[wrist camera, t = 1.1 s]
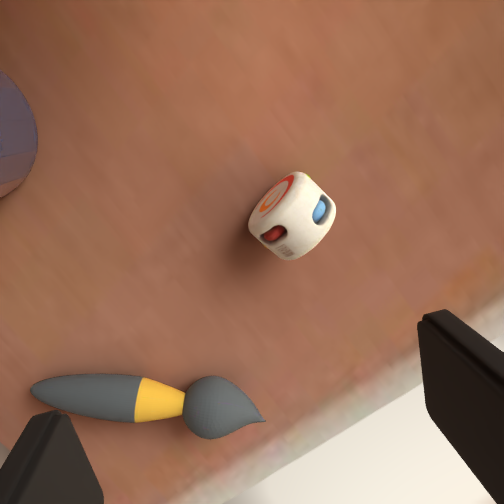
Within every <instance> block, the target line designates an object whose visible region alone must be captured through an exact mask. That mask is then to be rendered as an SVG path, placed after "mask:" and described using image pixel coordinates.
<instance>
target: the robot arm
mask: <svg viewBox="0 0 504 504" xmlns="http://www.w3.org/2000/svg"><path fill="white" fill-rule="evenodd" d="M417 330H418V339H419V348H420V357H421V366H422V376H423V385H424V393H425V403H426V408H427V411H428V413H429V415H430V417H431V419H432V420H433V421H434V423H435V424H436V425H437V427H438V428H439V429H440V430H441V432H442V433H443V434H444V436H445V437H446V438H447V440H448V441H449V442H450V443H451V445H452V446H453V447H454V449H455V450H456V451H457V452H458V454H459V455H460V456H461V458H462V459H463V460H464V461H465V463H466V464H467V466H468V467H469V468H470V469H471V471H472V472H473V473H474V475H475V476H476V477H477V479H478V480H479V481H480V482H481V484H482V485H483V486H484V488H485V489H486V490H487V492H488V493H489V494H490V495H491V497H492V498H493V499H494V501H495V502H496V503H497V504H504V352H502V351H501V350H499V349H498V348H497V347H496V346H494V345H493V344H492V343H490V342H489V341H488V340H486V339H485V338H484V337H482V336H481V335H480V334H478V333H477V332H476V331H475V330H473V329H472V328H471V327H469V326H468V325H467V324H465V323H464V322H463V321H461V320H460V319H459V318H457V317H456V316H455V315H454V314H452V313H451V312H450V311H448V310H446V309H444V310H440V311H436V312H432V313H428V314H424V315H423V318H422V321H420V322H418V324H417ZM0 504H104V496H103V492H102V489H101V487H100V485H99V482H98V480H97V478H96V476H95V473H94V471H93V469H92V467H91V464H90V462H89V460H88V458H87V456H86V453H85V451H84V449H83V447H82V444H81V442H80V440H79V438H78V435H77V433H76V431H75V429H74V427H73V424H72V422H71V420H70V418H69V416H68V415H67V414H62V413H61V412H60V411H59V410H53V411H50V412H46V413H42V414H38V415H35V416H33V417H32V418H31V419H30V420H29V422H28V424H27V425H26V427H25V429H24V430H23V432H22V434H21V435H20V437H19V439H18V440H17V442H16V444H15V445H14V447H13V449H12V450H11V452H10V454H9V455H8V457H7V459H6V460H5V462H4V464H3V466H2V467H1V469H0Z"/></svg>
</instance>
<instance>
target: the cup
mask: <svg viewBox="0 0 504 504" xmlns="http://www.w3.org/2000/svg"><path fill="white" fill-rule="evenodd" d="M37 145H38V138H37V128H36V123H35V120H34V116H33V113H32V111H31V109H30V106H29V104H28V102H27V101H26V99H25V97H24V95H23V94H22V93H21V91H20V90H19V88H18V87H17V86H16V85H15V84H14V82H13V81H12V80H11V79H10V78H9V77H8V76H7V75H6V74H4V73H3V72H2V71H1V70H0V197H3V196H5V195H7V194H8V193H9V192H11V191H12V190H14V189H15V188H16V187H17V186H19V185H20V184H21V183H22V181H23V180H24V179H25V178H26V177H27V175H28V174H29V172H30V170H31V168H32V166H33V164H34V161H35V157H36V153H37Z"/></svg>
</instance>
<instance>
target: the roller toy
mask: <svg viewBox="0 0 504 504" xmlns="http://www.w3.org/2000/svg"><path fill="white" fill-rule="evenodd" d="M335 214H336V206H335V204H334V202H333V201H332V200H331V199H330V198H329V197H328V196H327V195H326V194H325V193H324V192H323V191H322V190H321V189H320V188H319V187H318V186H317V185H316V184H315V183H314V182H313V181H312V180H311V178H310V176H309V175H307V174H305V173H302V172H293V173H291V174H289V175H287V176H285V177H284V178H282V179H281V180H280V181H279V182H277V183H276V184H275V185H274V186H273V187H272V188H271V189H270V190H269V191H268V192H267V193H266V194H265V195H264V197H263V198H262V199H261V200H260V202H259V203H258V204H257V206H256V207H255V209H254V210H253V212H252V214H251V216H250V219H249V223H248V227H249V231H250V232H251V233H252V235H254V236H255V237H256V238H257V239H258V240H259V241H260V242H261V243H263V245H264V247H265V248H268V249H270V250H271V251H272V252H273V253H274V254H276V255H277V256H278V257H279V258H281V259H283V260H294V259H297V258H299V257H301V256H303V255H304V254H306V253H307V252H309V251H310V250H311V249H312V248H314V247H315V246H316V245H317V244H318V243H319V242H320V241H321V240H322V238H323V237H324V236H325V235H326V233H327V232H328V230H329V229H330V227H331V225H332V223H333V221H334V218H335Z"/></svg>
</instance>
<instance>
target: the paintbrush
mask: <svg viewBox="0 0 504 504" xmlns="http://www.w3.org/2000/svg"><path fill="white" fill-rule="evenodd" d="M30 391H31V393H32V395H33V396H34V397H35V398H37V399H38V400H40V401H42V402H43V403H46V404H48V405H50V406H52V407H55V408H58V409H61V410H64V411H67V412H71V413H75V414H78V415H82V416H87V417H92V418H96V419H103V420H109V421H118V422H129V423H138V422H146V421H153V420H159V419H165V418H170V417H175V416H179V415H183V419H184V421H185V423H186V425H187V426H188V428H189V429H190V430H191V431H192V432H193V433H194V434H196V435H197V436H199V437H201V438H204V439H217V438H220V437H223V436H226V435H228V434H230V433H232V432H234V431H236V430H238V429H240V428H241V427H243V426H246V425H248V424H251V423H257V422H266V421H265V420H264V419H263V417H262V416H261V414H260V413H259V411H258V409H257V408H256V406H255V405H254V403H253V402H252V401H251V399H250V398H249V397H248V396H247V395H246V394H245V393H244V392H243V391H242V390H241V389H240V388H238V387H237V386H236V385H234V384H233V383H231V382H230V381H228V380H226V379H224V378H222V377H219V376H208V377H204V378H201V379H199V380H198V381H196V382H195V383H193V384H192V385H191V386H190V387H189V389H188V390H187V392H186V393H184V392H182V391H180V390H177V389H175V388H173V387H170V386H168V385H165V384H162V383H160V382H157V381H154V380H151V379H148V378H145V377H140V376H132V375H120V374H79V375H67V376H60V377H54V378H49V379H45V380H42V381H40V382H37V383H36V384H34V385H33V386H32V387H31V389H30Z"/></svg>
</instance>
